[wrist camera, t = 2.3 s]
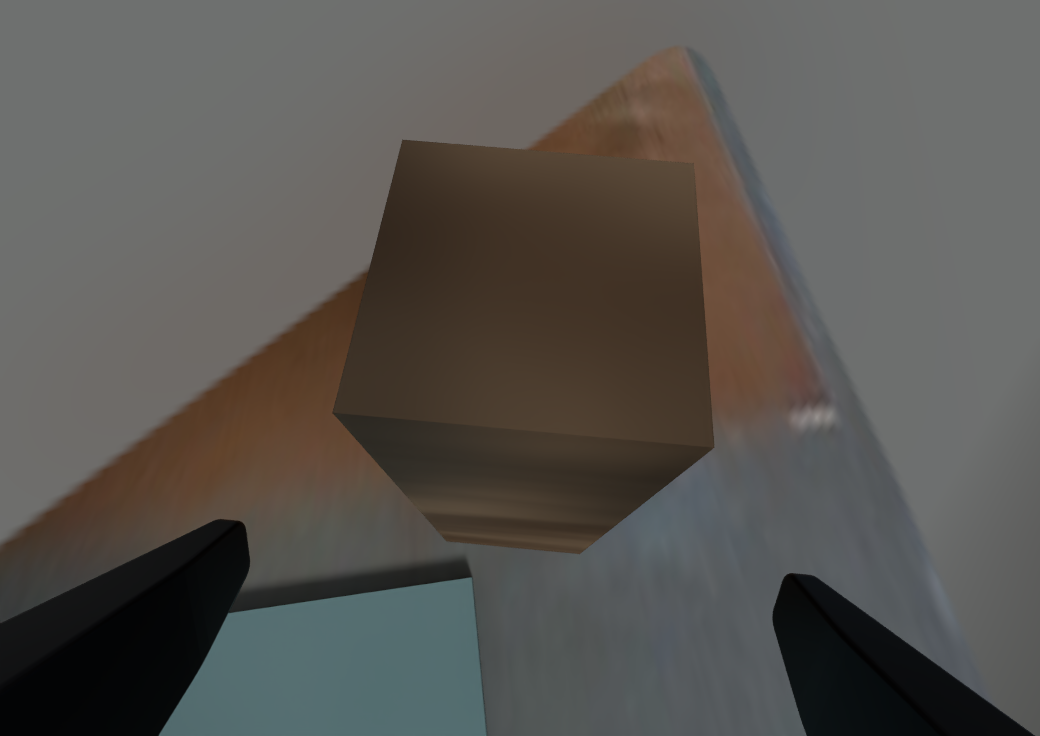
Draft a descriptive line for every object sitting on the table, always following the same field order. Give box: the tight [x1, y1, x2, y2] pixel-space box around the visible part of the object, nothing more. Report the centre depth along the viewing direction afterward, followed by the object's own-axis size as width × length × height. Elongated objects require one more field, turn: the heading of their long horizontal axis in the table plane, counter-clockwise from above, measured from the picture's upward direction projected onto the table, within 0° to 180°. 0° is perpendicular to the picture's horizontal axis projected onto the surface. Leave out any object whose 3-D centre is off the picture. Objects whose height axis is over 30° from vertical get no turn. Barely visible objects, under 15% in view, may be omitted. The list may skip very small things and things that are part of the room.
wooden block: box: [333, 140, 714, 554], centre depth 14 cm, size 5×5×14 cm
